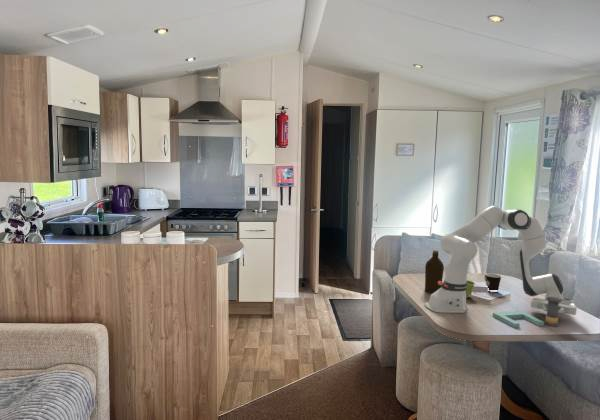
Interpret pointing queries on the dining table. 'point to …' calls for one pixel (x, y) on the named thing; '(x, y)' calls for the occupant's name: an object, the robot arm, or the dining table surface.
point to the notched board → (510, 315)
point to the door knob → (552, 311)
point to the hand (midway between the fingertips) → (552, 310)
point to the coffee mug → (492, 281)
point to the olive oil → (433, 273)
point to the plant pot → (469, 288)
